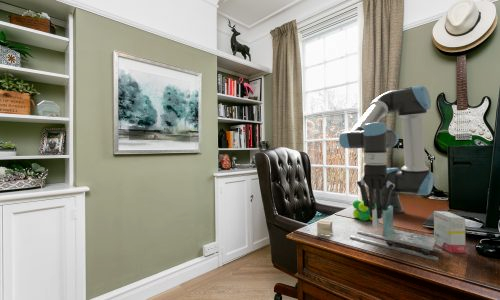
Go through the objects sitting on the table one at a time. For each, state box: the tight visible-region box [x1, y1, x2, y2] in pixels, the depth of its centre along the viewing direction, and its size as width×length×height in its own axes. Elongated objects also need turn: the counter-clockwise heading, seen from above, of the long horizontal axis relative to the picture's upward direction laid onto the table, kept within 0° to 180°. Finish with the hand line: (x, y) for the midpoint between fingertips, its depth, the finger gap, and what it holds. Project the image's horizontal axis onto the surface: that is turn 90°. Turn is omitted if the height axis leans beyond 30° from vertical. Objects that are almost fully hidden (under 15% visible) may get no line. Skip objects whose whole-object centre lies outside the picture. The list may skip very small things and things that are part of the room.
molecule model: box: [352, 200, 377, 222], centre depth 116 cm, size 9×9×9 cm
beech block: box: [316, 219, 333, 236], centre depth 97 cm, size 5×5×5 cm
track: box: [349, 230, 442, 262], centre depth 85 cm, size 9×27×1 cm, turn 45°
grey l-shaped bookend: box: [382, 206, 437, 255], centre depth 82 cm, size 10×14×12 cm
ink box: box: [433, 210, 466, 254], centre depth 82 cm, size 9×5×12 cm, turn 173°
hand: (375, 226), depth 89 cm, fingers closed
